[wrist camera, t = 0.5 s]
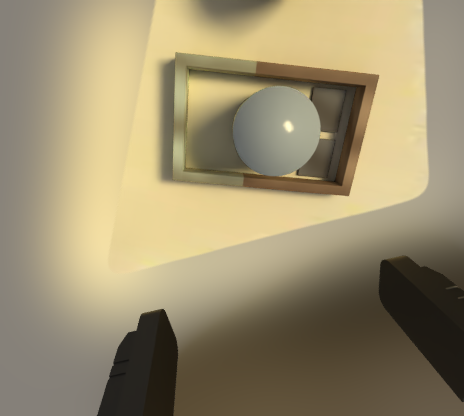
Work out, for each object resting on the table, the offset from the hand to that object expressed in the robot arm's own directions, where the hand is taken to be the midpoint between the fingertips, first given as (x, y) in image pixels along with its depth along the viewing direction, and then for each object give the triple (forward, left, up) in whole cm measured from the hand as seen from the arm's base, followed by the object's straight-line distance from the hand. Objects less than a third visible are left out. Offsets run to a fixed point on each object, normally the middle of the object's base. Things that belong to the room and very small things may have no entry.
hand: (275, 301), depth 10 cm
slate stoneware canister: (-5, +3, -28) cm, 29 cm away
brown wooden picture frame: (-5, +3, -28) cm, 29 cm away
